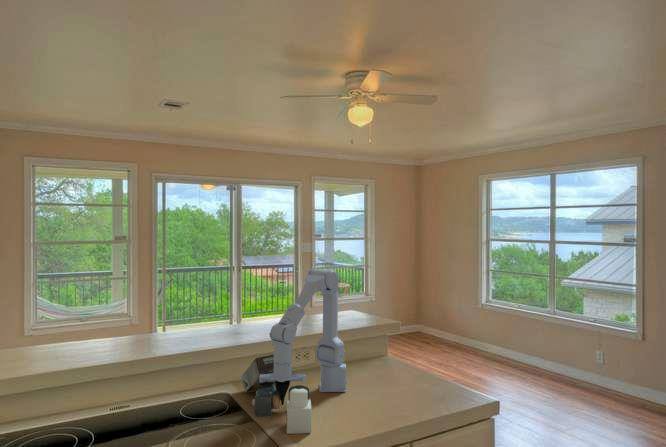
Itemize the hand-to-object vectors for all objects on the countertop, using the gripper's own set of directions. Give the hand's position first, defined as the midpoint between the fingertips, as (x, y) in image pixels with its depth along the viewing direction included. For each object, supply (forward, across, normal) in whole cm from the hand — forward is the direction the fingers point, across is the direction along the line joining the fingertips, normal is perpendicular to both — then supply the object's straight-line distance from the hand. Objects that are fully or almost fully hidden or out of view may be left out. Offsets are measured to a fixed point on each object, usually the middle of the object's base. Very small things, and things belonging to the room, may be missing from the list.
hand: (282, 404), depth 144 cm
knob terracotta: (+1, -5, 0) cm, 5 cm away
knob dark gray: (+1, -5, +7) cm, 9 cm away
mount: (+2, -6, +4) cm, 7 cm away
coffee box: (0, -12, +20) cm, 23 cm away
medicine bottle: (+3, +6, -12) cm, 13 cm away
